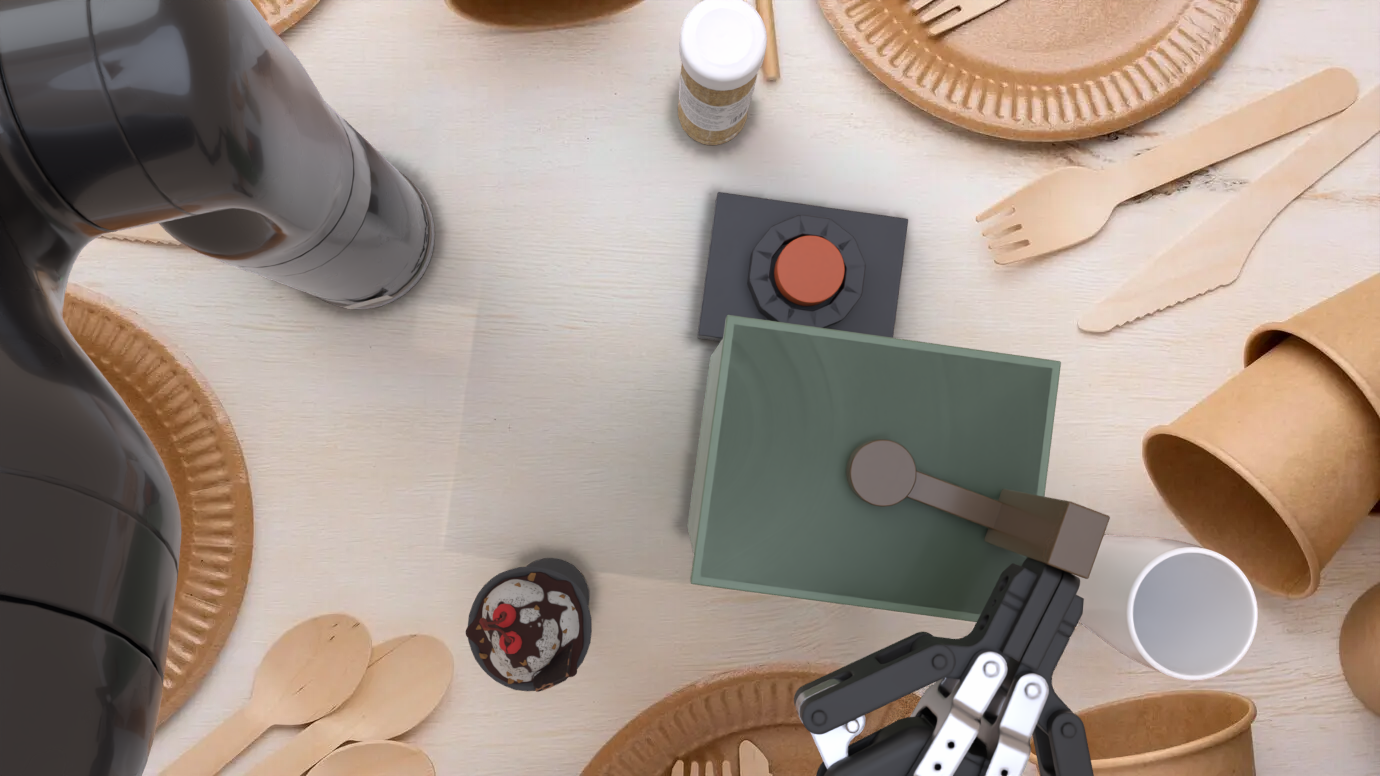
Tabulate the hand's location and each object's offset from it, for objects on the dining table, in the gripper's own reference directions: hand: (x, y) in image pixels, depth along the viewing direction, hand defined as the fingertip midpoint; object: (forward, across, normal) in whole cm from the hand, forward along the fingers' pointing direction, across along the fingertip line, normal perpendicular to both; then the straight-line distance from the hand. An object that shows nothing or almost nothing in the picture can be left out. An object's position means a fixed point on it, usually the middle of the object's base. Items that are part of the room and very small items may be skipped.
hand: (1053, 566), depth 39 cm
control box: (+10, +12, +28) cm, 32 cm away
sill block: (0, +6, +28) cm, 29 cm away
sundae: (-15, +17, +28) cm, 36 cm away
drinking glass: (+2, -12, +28) cm, 31 cm away
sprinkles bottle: (+17, +22, +28) cm, 39 cm away
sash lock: (+1, +4, +6) cm, 7 cm away
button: (+10, +12, +24) cm, 29 cm away
